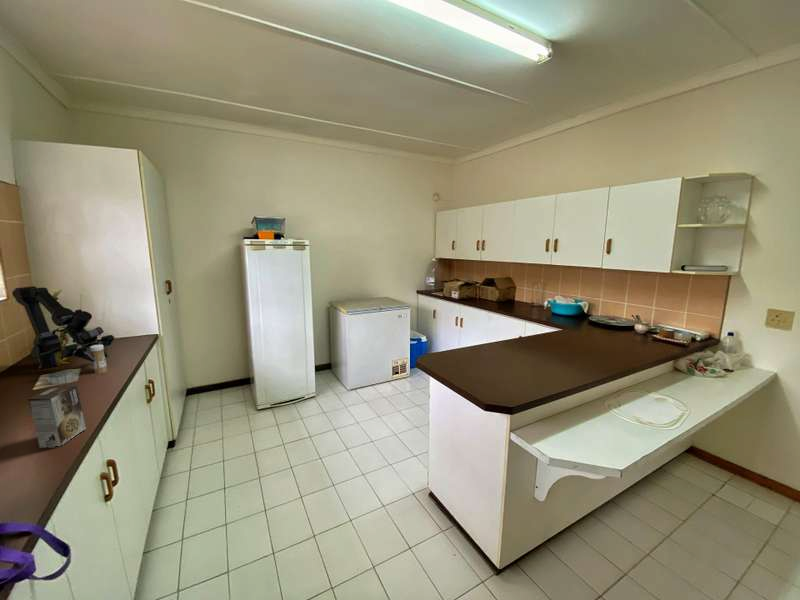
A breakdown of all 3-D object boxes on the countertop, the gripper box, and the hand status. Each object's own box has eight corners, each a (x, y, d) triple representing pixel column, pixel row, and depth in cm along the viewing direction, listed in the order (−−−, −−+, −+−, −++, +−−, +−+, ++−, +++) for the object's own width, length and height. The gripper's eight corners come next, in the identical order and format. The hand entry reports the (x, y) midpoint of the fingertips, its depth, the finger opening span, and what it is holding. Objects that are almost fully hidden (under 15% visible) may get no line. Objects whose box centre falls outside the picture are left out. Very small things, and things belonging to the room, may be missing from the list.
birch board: (41, 377, 147) (40, 375, 147) (81, 370, 155) (80, 368, 155) (33, 392, 133) (32, 389, 133) (77, 383, 141) (77, 380, 141)
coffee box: (66, 430, 107) (56, 384, 104) (87, 429, 107) (78, 384, 104) (38, 448, 98) (26, 398, 95) (61, 447, 98) (50, 397, 95)
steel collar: (50, 379, 143) (49, 372, 142) (79, 374, 148) (77, 367, 148) (47, 386, 136) (45, 379, 135) (76, 380, 142) (75, 374, 141)
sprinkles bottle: (107, 374, 151) (102, 346, 148) (93, 376, 148) (88, 348, 146) (108, 370, 155) (104, 343, 152) (95, 372, 152) (90, 345, 150)
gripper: (60, 328, 139) (84, 355, 138) (108, 318, 157) (129, 342, 156) (51, 344, 142) (74, 371, 142) (99, 332, 160) (120, 356, 160)
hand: (101, 359), depth 150 cm, fingers open, 5 cm apart
